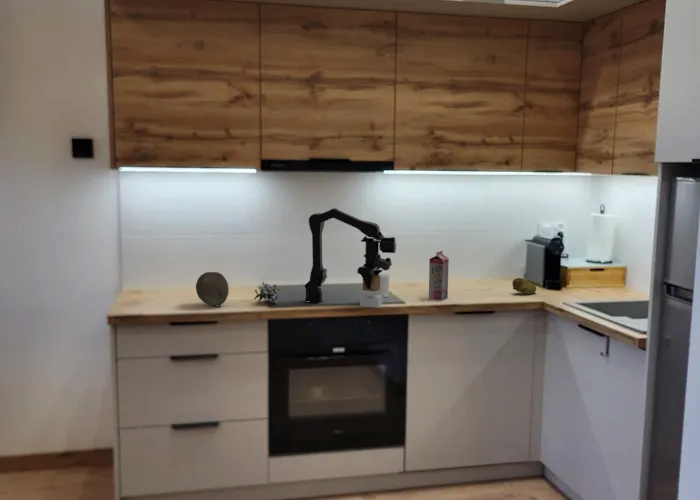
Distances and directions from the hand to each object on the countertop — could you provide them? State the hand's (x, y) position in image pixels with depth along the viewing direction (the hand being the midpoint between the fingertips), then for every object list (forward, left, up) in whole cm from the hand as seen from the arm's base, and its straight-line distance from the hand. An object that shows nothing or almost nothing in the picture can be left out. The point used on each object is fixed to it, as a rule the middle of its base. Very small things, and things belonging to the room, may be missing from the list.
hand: (371, 287), depth 290 cm
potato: (+58, +54, -8) cm, 80 cm away
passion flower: (-43, -17, -8) cm, 47 cm away
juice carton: (+23, +26, -8) cm, 36 cm away
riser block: (0, 0, -8) cm, 8 cm away
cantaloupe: (-62, -31, -8) cm, 70 cm away
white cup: (-3, +20, -8) cm, 22 cm away
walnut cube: (0, 0, -1) cm, 1 cm away
